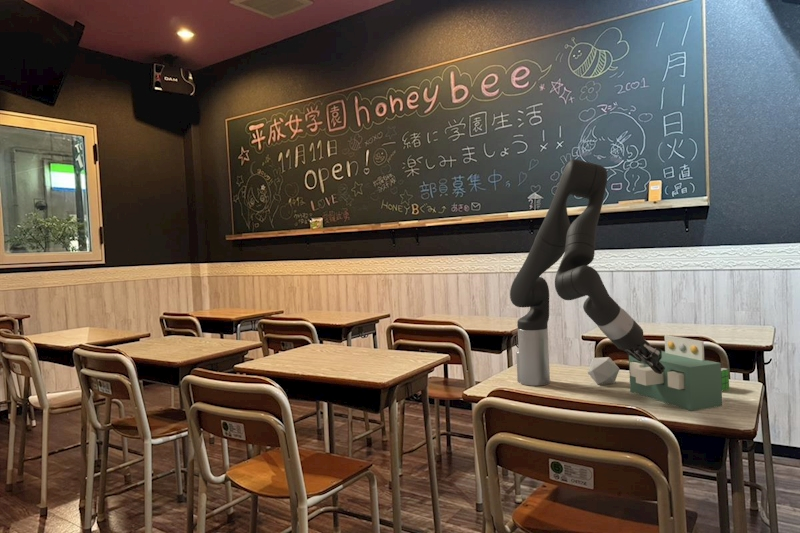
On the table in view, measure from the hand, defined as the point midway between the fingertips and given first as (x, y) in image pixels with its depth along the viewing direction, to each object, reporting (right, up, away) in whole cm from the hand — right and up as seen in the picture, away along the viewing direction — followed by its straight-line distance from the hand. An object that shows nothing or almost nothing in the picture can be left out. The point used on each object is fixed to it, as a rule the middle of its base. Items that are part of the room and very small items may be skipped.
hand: (660, 370), depth 142 cm
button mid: (+1, -5, +7) cm, 9 cm away
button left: (+2, -4, +15) cm, 16 cm away
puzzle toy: (+23, -9, +18) cm, 30 cm away
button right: (+7, -4, +2) cm, 8 cm away
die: (-4, -10, +30) cm, 32 cm away
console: (+8, -9, +10) cm, 16 cm away
